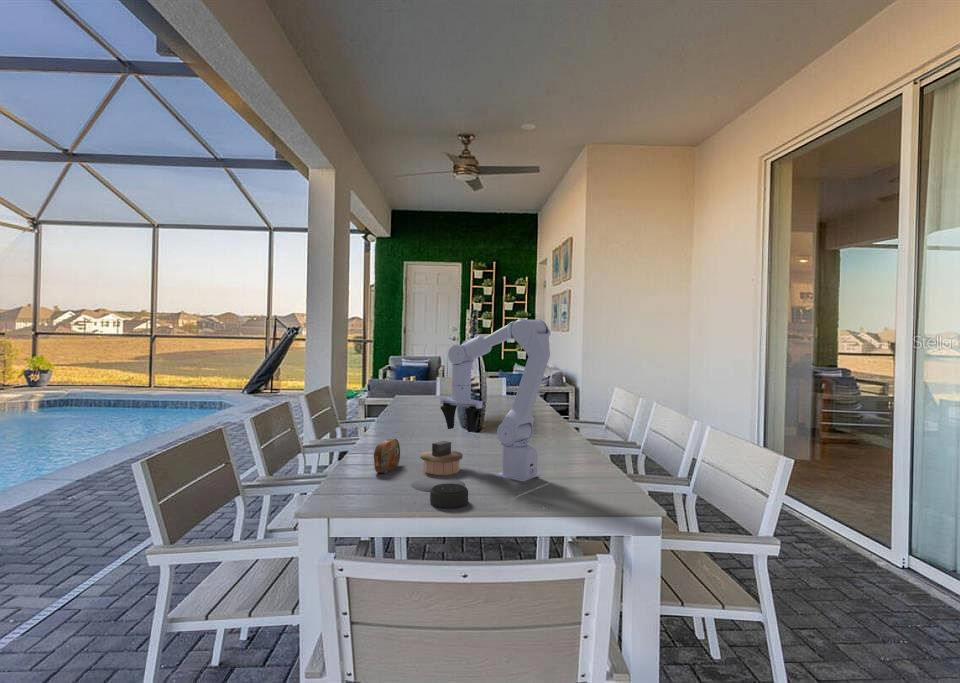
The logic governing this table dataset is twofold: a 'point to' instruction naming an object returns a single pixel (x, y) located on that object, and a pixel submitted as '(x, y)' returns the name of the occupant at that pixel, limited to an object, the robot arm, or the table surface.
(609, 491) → the table surface
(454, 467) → the bowl
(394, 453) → the tin
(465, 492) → the smart speaker
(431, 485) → the coaster
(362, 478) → the table surface
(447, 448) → the lid
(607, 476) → the table surface
